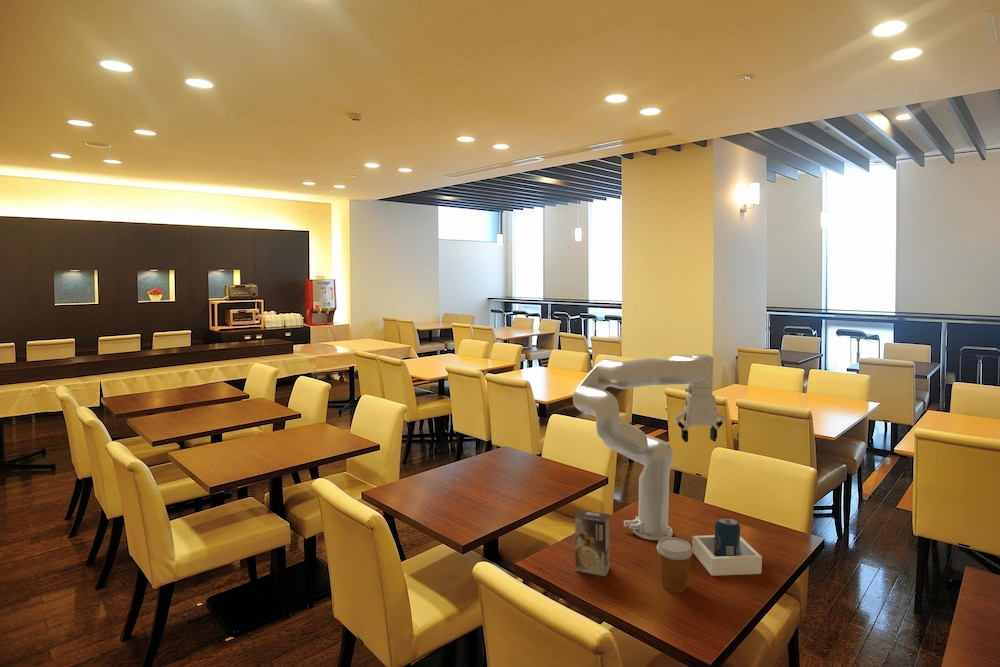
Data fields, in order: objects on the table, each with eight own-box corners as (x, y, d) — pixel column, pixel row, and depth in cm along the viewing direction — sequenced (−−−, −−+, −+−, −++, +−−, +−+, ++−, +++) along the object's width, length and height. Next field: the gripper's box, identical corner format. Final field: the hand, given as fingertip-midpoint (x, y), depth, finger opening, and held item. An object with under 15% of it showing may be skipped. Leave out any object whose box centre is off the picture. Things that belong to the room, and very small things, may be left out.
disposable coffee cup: (686, 599, 154) (687, 556, 152) (650, 589, 159) (651, 547, 157) (695, 583, 162) (696, 541, 160) (661, 574, 167) (662, 533, 165)
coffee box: (610, 566, 171) (611, 513, 169) (605, 577, 165) (606, 522, 163) (579, 561, 174) (579, 509, 173) (574, 571, 168) (574, 517, 167)
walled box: (711, 575, 166) (712, 558, 165) (692, 551, 180) (692, 535, 179) (761, 573, 166) (762, 557, 166) (737, 549, 181) (738, 534, 180)
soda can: (711, 553, 177) (712, 515, 176) (735, 554, 176) (736, 516, 175) (716, 564, 170) (718, 524, 169) (741, 566, 169) (743, 526, 168)
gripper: (679, 393, 193) (678, 444, 195) (730, 392, 194) (728, 443, 196) (671, 389, 201) (670, 438, 202) (720, 388, 202) (719, 437, 203)
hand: (699, 440), depth 199 cm, fingers open, 9 cm apart
